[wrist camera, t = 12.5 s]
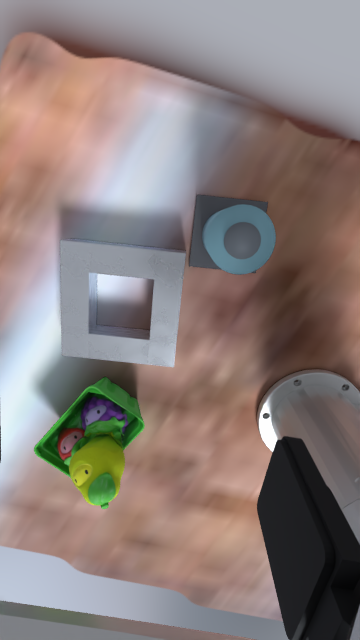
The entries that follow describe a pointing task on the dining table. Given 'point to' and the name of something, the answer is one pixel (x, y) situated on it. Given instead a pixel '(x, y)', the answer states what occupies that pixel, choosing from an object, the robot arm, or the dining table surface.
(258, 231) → the blue cylinder
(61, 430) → the fruit basket
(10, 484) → the dining table surface
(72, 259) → the frame
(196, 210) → the mat
